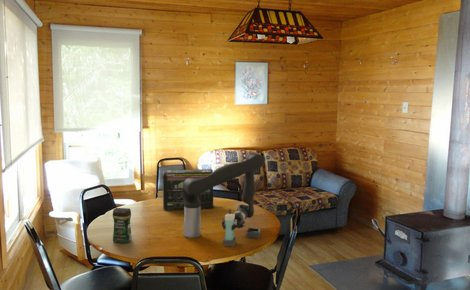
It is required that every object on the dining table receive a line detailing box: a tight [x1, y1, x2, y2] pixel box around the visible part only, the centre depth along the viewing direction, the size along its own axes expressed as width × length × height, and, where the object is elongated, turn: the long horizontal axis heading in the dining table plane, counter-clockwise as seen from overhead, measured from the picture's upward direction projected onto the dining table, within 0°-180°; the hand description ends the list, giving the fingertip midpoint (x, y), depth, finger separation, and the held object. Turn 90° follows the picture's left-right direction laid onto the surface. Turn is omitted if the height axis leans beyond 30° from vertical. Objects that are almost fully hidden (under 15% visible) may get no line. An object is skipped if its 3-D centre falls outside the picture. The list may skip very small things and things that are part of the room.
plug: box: [224, 208, 235, 241], centre depth 226 cm, size 4×4×20 cm
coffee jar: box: [112, 207, 133, 244], centre depth 229 cm, size 10×8×19 cm
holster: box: [222, 236, 237, 248], centre depth 227 cm, size 6×6×3 cm
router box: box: [162, 168, 214, 211], centre depth 295 cm, size 36×11×27 cm, turn 99°
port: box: [246, 227, 261, 239], centre depth 240 cm, size 7×7×4 cm
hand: (228, 227), depth 223 cm, fingers open, 4 cm apart
